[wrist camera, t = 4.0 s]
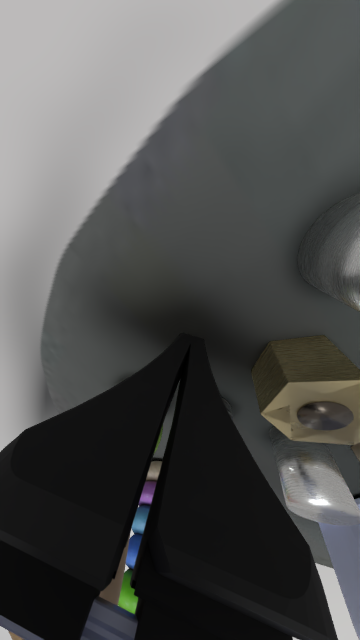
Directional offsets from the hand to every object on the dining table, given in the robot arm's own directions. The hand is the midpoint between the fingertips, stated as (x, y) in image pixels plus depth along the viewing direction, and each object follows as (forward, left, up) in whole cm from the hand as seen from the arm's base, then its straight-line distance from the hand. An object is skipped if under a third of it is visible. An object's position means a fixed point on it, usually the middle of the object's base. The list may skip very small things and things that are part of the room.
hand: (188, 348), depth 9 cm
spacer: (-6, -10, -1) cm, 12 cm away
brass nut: (0, -7, -1) cm, 7 cm away
